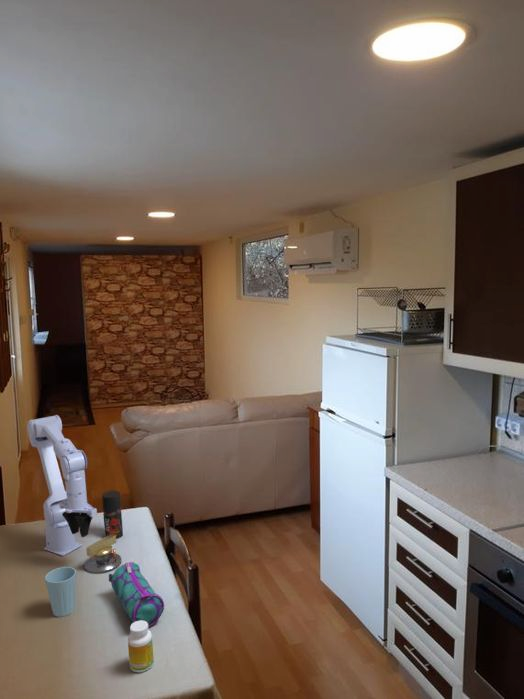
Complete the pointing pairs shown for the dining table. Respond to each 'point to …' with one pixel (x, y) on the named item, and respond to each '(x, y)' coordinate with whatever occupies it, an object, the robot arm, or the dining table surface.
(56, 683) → the dining table surface
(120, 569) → the pencil case
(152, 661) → the supplement bottle
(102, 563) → the post base
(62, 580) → the cup
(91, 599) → the dining table surface
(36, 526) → the dining table surface
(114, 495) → the deodorant
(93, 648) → the dining table surface
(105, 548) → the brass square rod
